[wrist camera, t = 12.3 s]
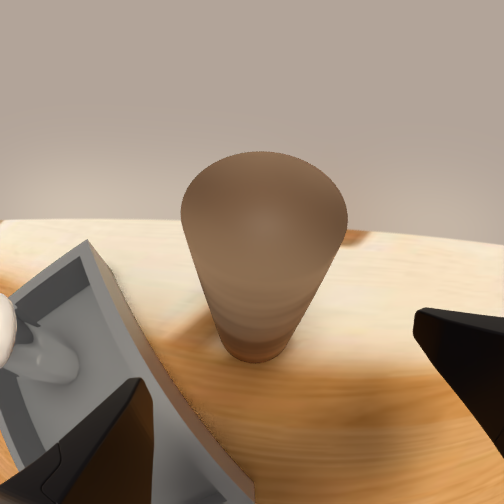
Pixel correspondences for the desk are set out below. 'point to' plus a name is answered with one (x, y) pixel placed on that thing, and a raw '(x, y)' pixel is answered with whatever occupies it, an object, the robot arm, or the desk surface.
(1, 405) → the tray
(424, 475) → the desk surface
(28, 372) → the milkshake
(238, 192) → the walnut cylinder
